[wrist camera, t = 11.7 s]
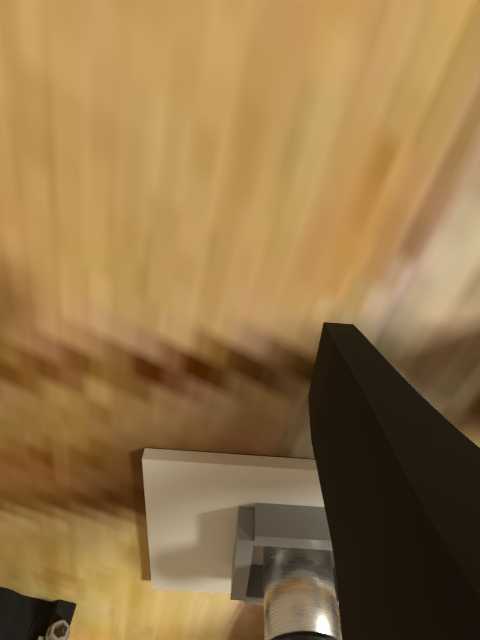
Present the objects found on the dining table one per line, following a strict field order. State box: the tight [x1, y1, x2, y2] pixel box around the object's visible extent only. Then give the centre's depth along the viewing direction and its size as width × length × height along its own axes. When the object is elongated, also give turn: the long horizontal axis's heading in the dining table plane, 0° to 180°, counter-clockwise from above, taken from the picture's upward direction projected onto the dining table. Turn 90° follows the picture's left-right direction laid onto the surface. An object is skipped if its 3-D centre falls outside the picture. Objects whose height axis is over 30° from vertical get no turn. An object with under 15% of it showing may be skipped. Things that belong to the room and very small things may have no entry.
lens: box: [263, 546, 342, 640], centre depth 27 cm, size 4×4×7 cm
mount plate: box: [142, 448, 339, 606], centre depth 30 cm, size 20×15×3 cm
